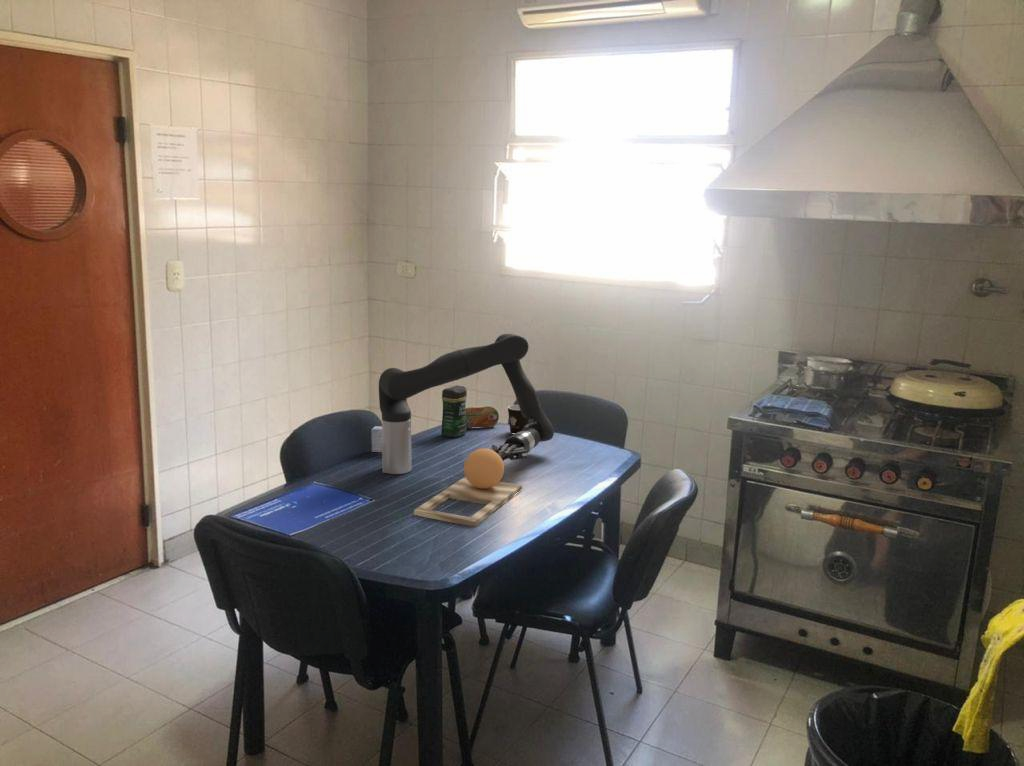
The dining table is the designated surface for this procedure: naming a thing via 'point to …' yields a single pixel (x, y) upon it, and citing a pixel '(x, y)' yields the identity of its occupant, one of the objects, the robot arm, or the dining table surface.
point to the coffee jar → (454, 411)
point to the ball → (484, 468)
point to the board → (472, 494)
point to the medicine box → (377, 439)
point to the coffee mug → (516, 419)
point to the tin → (481, 416)
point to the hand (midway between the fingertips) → (497, 459)
